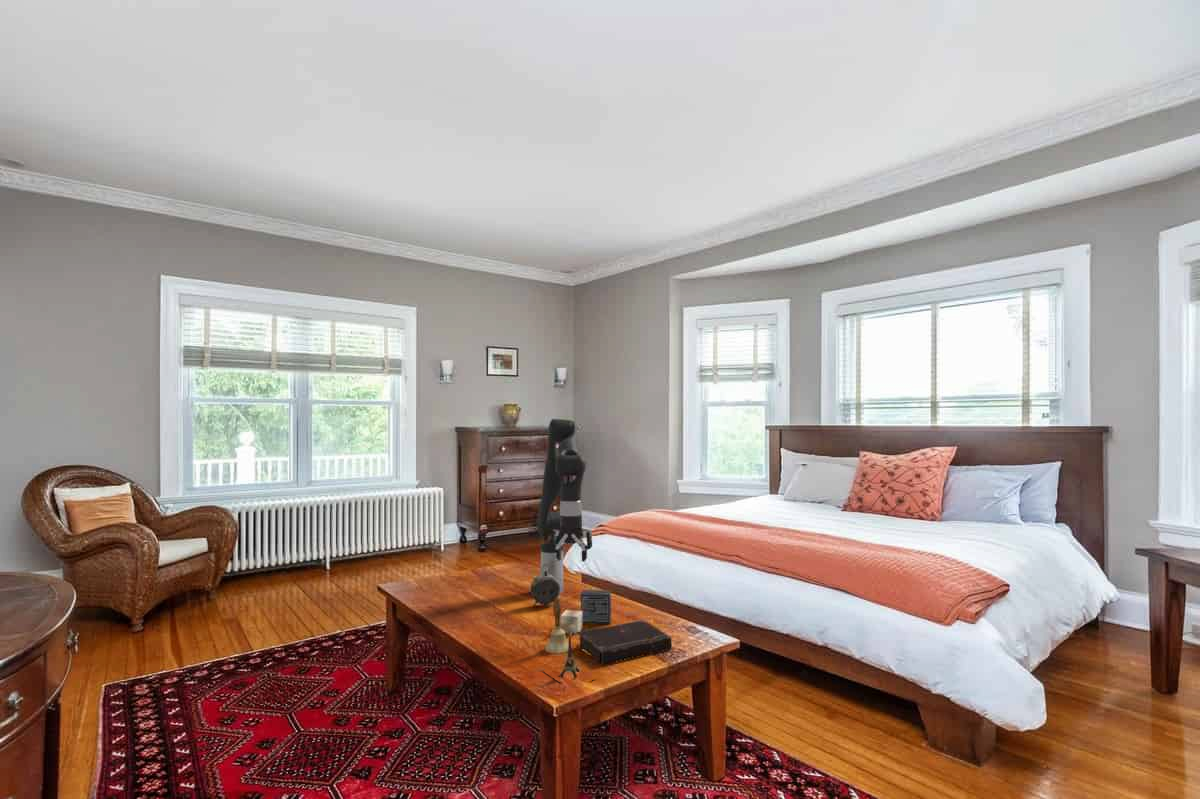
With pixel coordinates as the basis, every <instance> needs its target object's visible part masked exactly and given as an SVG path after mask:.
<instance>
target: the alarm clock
mask: <svg viewBox="0 0 1200 799" xmlns="http://www.w3.org/2000/svg"><path fill="white" fill-rule="evenodd" d="M544 565H548V564H544ZM544 565H543V566H544ZM543 566H542V568H543ZM548 566H549V565H548ZM542 568H541V567H540V570H541V569H542ZM549 570H550V566H549ZM549 570H548V571H549ZM548 571H545V572H544V573H545V574H541V575H540V574H539V575H537V576H536V577H535V578H534V579H533V580H532V582H531V585H530V594H531V596H532V598H533V599H534V600H535V603H534V604H533V605H532V606H533V607H536V605H537V604H540V605H543V606H545V608H546V609H547V608H548V605H550V604H552V603H554V601H555V598H559V595H560V594H559V593H560V585H559V583H558V581H557V580H556V579H555V577H553V576H552V575H550V574H547V572H548ZM542 572H543V570H542Z"/></svg>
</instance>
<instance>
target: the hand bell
mask: <svg viewBox="0 0 1200 799" xmlns="http://www.w3.org/2000/svg"><path fill="white" fill-rule="evenodd" d="M561 604H562V603H561V601H560V598H559V597H557V598H555V601H554V602H553V605H552V608H553V609H552V612H553V615H554V629H553V630H552V631H551V632H550V638H549V642H548V643H547V645H546V646H545V648H544V650H545V651H546V652H547V653H550V654H556V655H558V654H559V655H560V654H565V653H568V647H569V641H568V639H567V636H566V634H565V631H564V630H562V629H561V615H562V605H561Z"/></svg>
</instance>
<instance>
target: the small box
mask: <svg viewBox="0 0 1200 799" xmlns="http://www.w3.org/2000/svg"><path fill="white" fill-rule="evenodd" d="M580 611H582V615H583V623H602V624H601V625H610V624H611V621H612V593H611V589H582V591H581V592H580Z"/></svg>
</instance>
